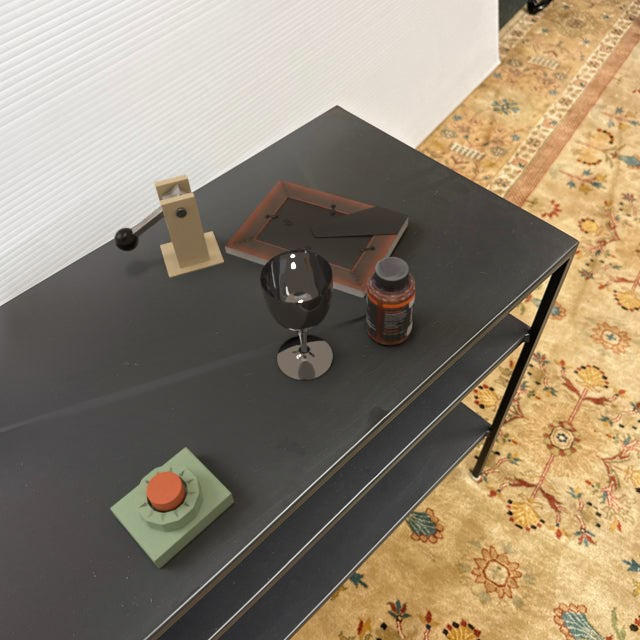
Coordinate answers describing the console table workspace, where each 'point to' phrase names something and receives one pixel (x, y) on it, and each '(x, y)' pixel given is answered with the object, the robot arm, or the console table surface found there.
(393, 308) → the supplement bottle
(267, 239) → the picture frame
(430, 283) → the console table surface
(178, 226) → the toaster bracket
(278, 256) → the wine glass
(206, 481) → the button box
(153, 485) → the button
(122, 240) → the lever
